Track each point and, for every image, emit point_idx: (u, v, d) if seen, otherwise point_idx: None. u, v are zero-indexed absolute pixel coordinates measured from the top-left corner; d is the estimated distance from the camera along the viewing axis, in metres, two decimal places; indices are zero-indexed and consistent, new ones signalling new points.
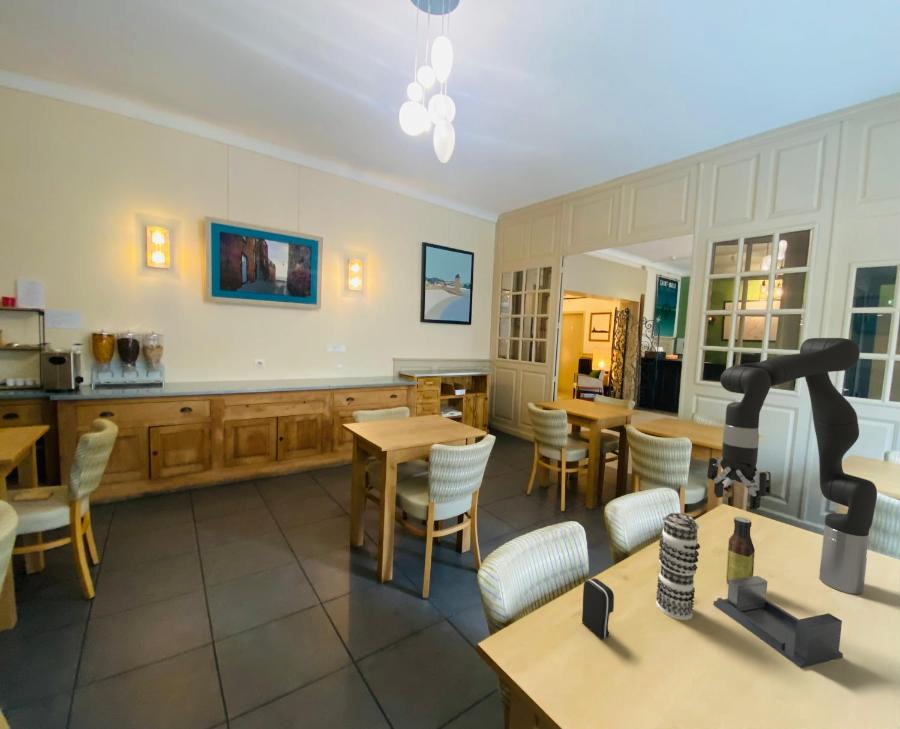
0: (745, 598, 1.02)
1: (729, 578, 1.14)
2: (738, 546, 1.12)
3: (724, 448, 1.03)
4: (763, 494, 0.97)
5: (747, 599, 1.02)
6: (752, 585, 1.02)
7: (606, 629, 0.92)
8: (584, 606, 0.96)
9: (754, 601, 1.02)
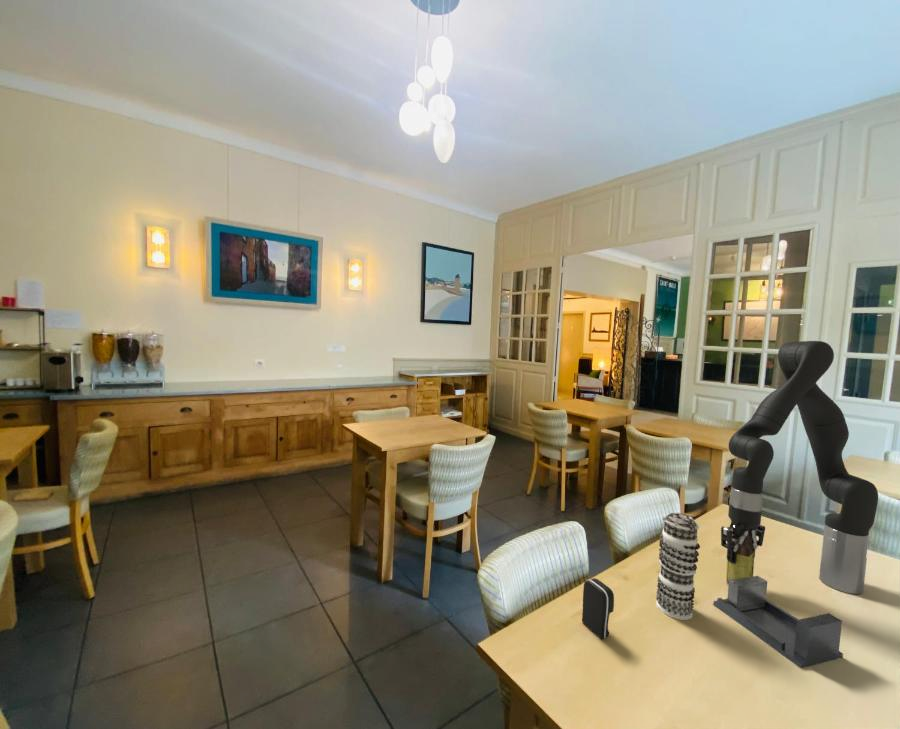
0: (745, 598, 1.02)
1: (729, 578, 1.14)
2: None
3: (750, 516, 1.09)
4: (761, 544, 1.14)
5: (747, 599, 1.02)
6: (752, 585, 1.02)
7: (606, 629, 0.92)
8: (584, 606, 0.96)
9: (754, 601, 1.02)
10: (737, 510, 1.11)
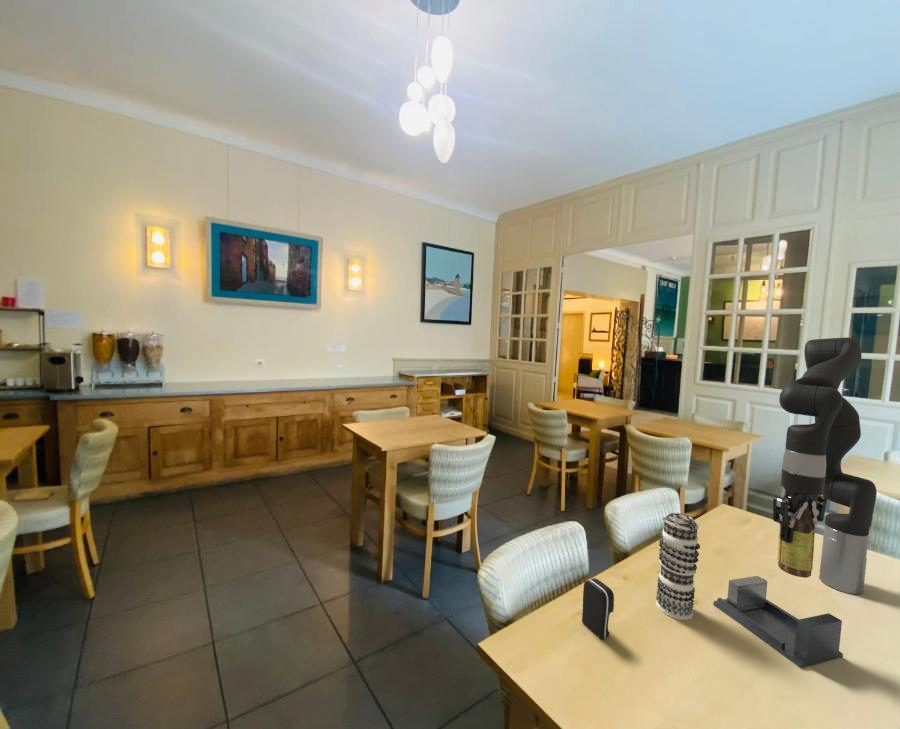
0: (745, 598, 1.02)
1: (782, 561, 0.92)
2: None
3: (811, 483, 0.88)
4: (822, 519, 0.93)
5: (747, 599, 1.02)
6: (752, 585, 1.02)
7: (606, 629, 0.92)
8: (584, 606, 0.96)
9: (754, 601, 1.02)
10: (794, 476, 0.90)
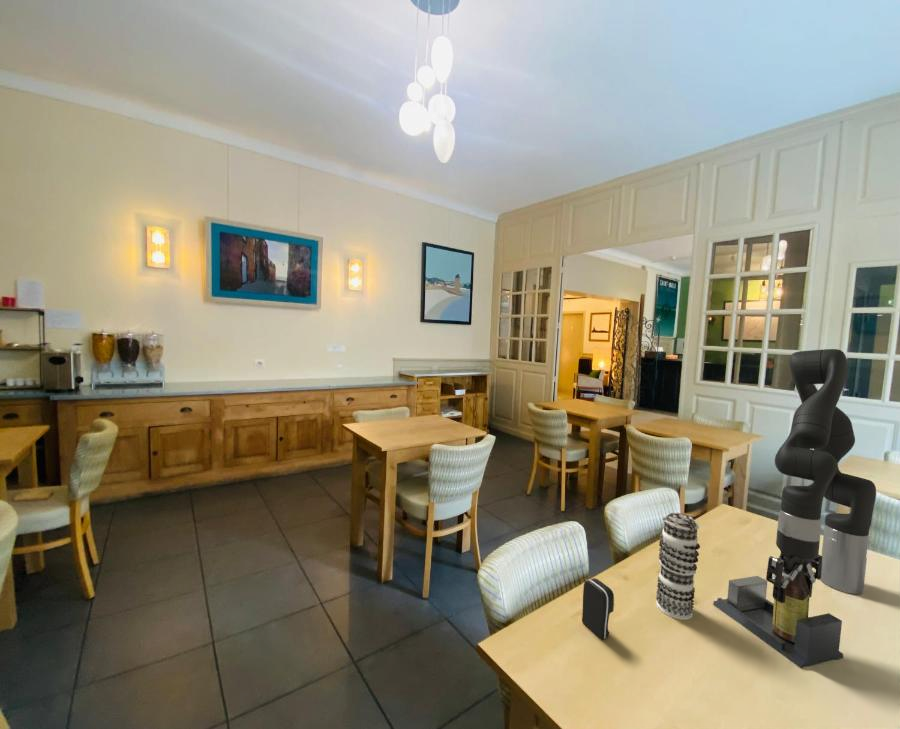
0: (745, 598, 1.02)
1: (777, 625, 0.93)
2: (789, 587, 0.92)
3: (806, 547, 0.89)
4: (820, 577, 0.94)
5: (747, 599, 1.02)
6: (752, 585, 1.02)
7: (606, 629, 0.92)
8: (584, 606, 0.96)
9: (754, 601, 1.02)
10: (789, 539, 0.91)
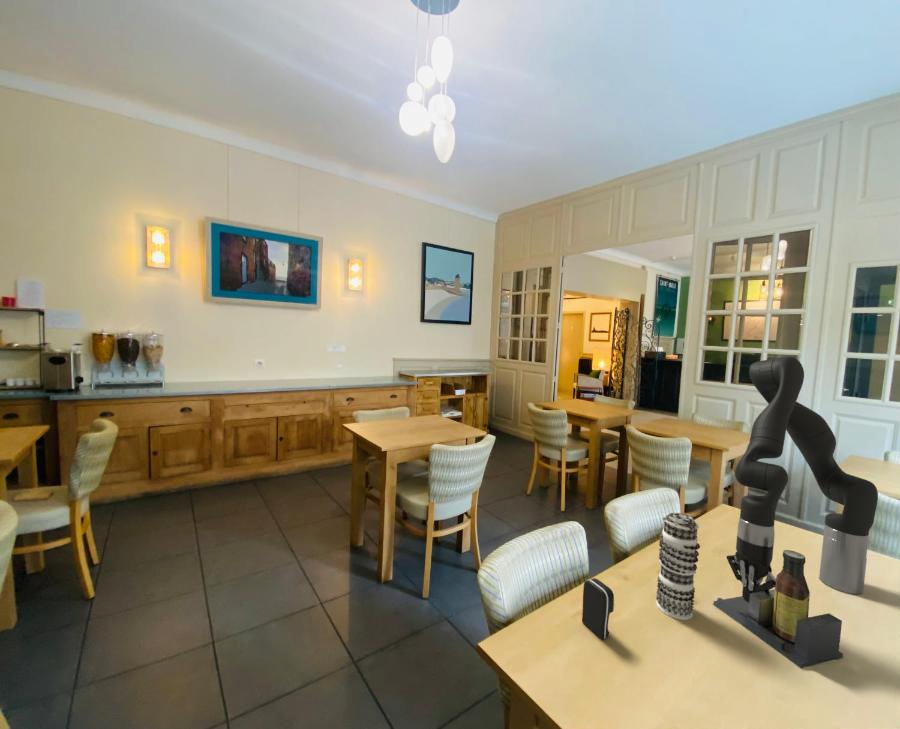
0: (767, 612, 0.96)
1: (777, 625, 0.93)
2: (789, 587, 0.92)
3: None
4: None
5: (769, 613, 0.96)
6: None
7: (606, 629, 0.92)
8: (584, 606, 0.96)
9: None
10: (771, 548, 0.98)
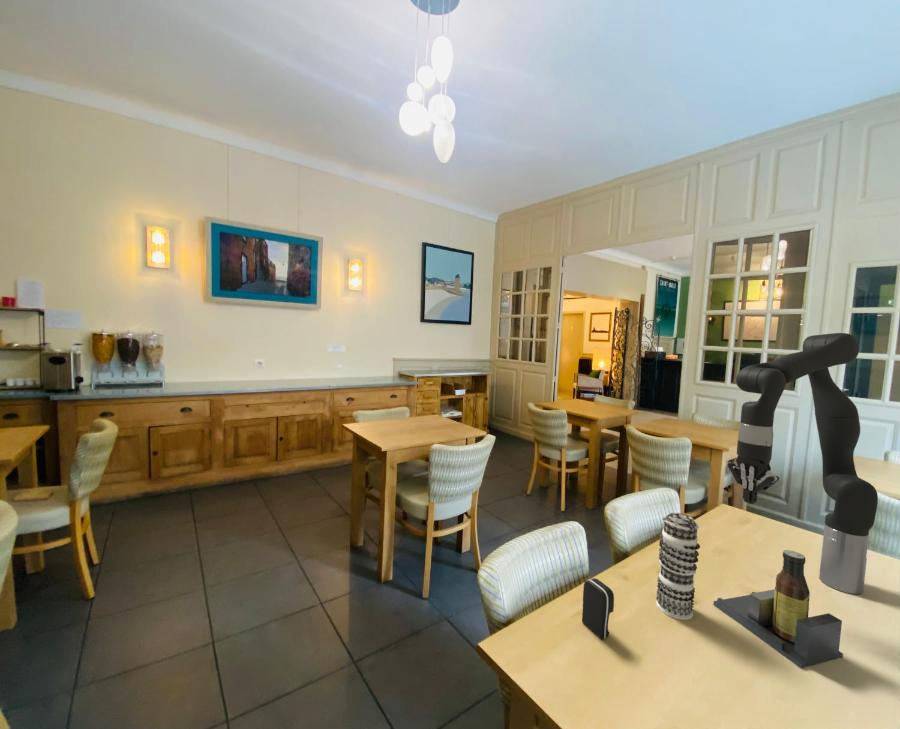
0: (767, 613, 0.96)
1: (777, 625, 0.93)
2: (789, 587, 0.92)
3: None
4: None
5: (769, 614, 0.96)
6: None
7: (606, 629, 0.92)
8: (584, 606, 0.96)
9: None
10: (770, 448, 1.03)
